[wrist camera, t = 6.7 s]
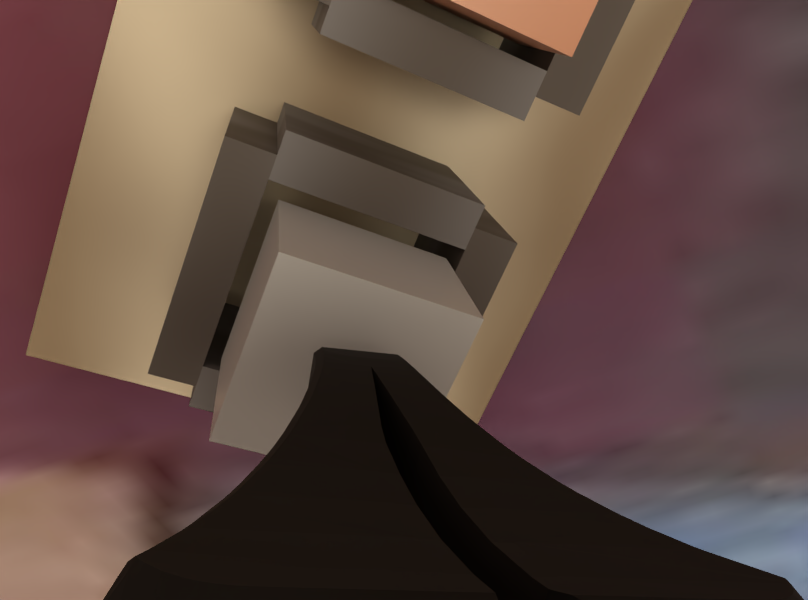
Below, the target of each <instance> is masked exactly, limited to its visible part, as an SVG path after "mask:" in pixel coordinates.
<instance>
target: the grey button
mask: <svg viewBox="0 0 808 600" xmlns="http://www.w3.org/2000/svg"><path fill="white" fill-rule="evenodd" d="M483 320H484V318H483V317H482V315H481V314H480V312H479V310H478V309H477V307H476V306H475V304H474V302H473V301H472V299H471V297H470V296H469V294H468V293H467V291H466V289H465V288H464V286H463V284H462V283H461V281H460V280H459V278H458V276H457V275H456V273H455V272H454V270H453V268H452V267H451V265H450V263H449V262H448V260H447V259H446V258H444V257H441V256H438V255H435V254H433V253H430V252H427V251H424V250H421V249H418V248H415V247H413V246H410V245H407V244H404V243H401V242H398V241H395V240H393V239H390V238H387V237H384V236H381V235H378V234H376V233H373V232H370V231H367V230H364V229H361V228H358V227H356V226H353V225H350V224H347V223H344V222H341V221H338V220H336V219H333V218H330V217H327V216H324V215H321V214H318V213H316V212H313V211H310V210H307V209H304V208H301V207H299V206H296V205H293V204H290V203H287V202H284V201H281V200H278V202H277V205H276V208H275V211H274V213H273V216H272V219H271V222H270V225H269V227H268V230H267V233H266V236H265V238H264V241H263V244H262V247H261V250H260V252H259V255H258V258H257V261H256V264H255V266H254V269H253V272H252V275H251V277H250V280H249V283H248V286H247V289H246V291H245V294H244V297H243V300H242V302H241V305H240V308H239V311H238V314H237V316H236V319H235V322H234V325H233V328H232V330H231V333H230V336H229V339H228V341H227V344H226V347H225V350H224V353H223V355H222V358H221V365H220V371H219V378H218V385H217V391H216V398H215V405H214V412H213V418H212V425H211V432H210V438H209V441H212V442H216V443H220V444H224V445H228V446H233V447H237V448H241V449H245V450H249V451H253V452H257V453H261V454H265V455H267V454H268V453H269V451H270V450H271V449H272V448H273V446H274V445H275V444H276V442H277V441H278V440H279V438H280V437H281V435H282V434H283V433H284V431H285V429H286V428H287V426H288V425H289V423H290V421H291V420H292V418H293V416H294V415H295V413H296V411H297V410H298V408H299V406H300V404H301V402H302V400H303V398H304V396H305V393H306V391H307V389H308V385H309V379H310V373H311V366H312V360H313V354H314V352H316V351H317V350H318V349H320V348H321V347H328V348H338V349H348V350H358V351H368V352H378V353H388V354H397V355H399V356H401V357H402V358H403V359H404V360H406V361H407V362H408V363H409V364H410V365H411V366H413V367H414V368H415V369H416V370H417V371H418V372H419V373H420V374H421V375H422V376H423V377H424V378H426V379H427V380H428V381H429V382H430V383H431V384H432V385H433V386H434V387H435V388H436V389H437V390H438V391H440V392H441V393H442V394H443V395H444V396H445V397H447V395H448V393H449V391H450V389H451V386H452V384H453V382H454V380H455V378H456V376H457V374H458V372H459V370H460V368H461V366H462V364H463V362H464V360H465V358H466V356H467V353H468V351H469V349H470V347H471V345H472V343H473V341H474V339H475V337H476V335H477V333H478V331H479V329H480V327H481V325H482V322H483Z"/></svg>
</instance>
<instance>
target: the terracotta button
mask: <svg viewBox="0 0 808 600" xmlns="http://www.w3.org/2000/svg"><path fill="white" fill-rule="evenodd" d="M424 1H426V2H428V3H430V4H432V5H435V6H437V7H439V8H441V9H443V10H445V11H448V12H450V13H452V14H454V15H456V16H458V17H461V18H463V19H465V20H467V21H469V22H471V23H474V24H476V25H478V26H480V27H482V28H484V29H487V30H489V31H491V32H493V33H495V34H497V35H500V36H502V37H504V38H506V39H508V40H510V41H513V42H515V43H517V44H520V45H524V46H528V47H532V48H536V49H541V50H545V51H549V52H553V53H557V54H561V55H565V56H569V57H572V56H573V54H574V52H575V49H576V47H577V45H578V43H579V41H580V39H581V37H582V34H583V32H584V30H585V28H586V26H587V24H588V22H589V19H590V17H591V15H592V13H593V11H594V9H595V7H596V4H597V2H598V0H424Z"/></svg>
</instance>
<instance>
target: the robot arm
mask: <svg viewBox="0 0 808 600" xmlns="http://www.w3.org/2000/svg"><path fill="white" fill-rule="evenodd" d="M103 600H804V599H803V598H802V597H801V596H800V595H799V593H798V592H797V591H796V590H795V589H794V587H793V586H792V585H791V584H790V583H789V582H788V580H786V579H785V578H783V577H780V576H777V575H774V574H771V573H768V572H765V571H762V570H759V569H756V568H753V567H750V566H747V565H744V564H742V563H739V562H736V561H733V560H730V559H727V558H724V557H721V556H718V555H715V554H712V553H709V552H706V551H703V550H701V549H698V548H696V547H693V546H690V545H688V544H686V543H683V542H681V541H678V540H676V539H674V538H671V537H669V536H666V535H664V534H662V533H659V532H657V531H654V530H652V529H650V528H647V527H645V526H643V525H641V524H639V523H637V522H634V521H632V520H630V519H628V518H626V517H624V516H621V515H619V514H617V513H615V512H613V511H611V510H610V509H608V508H606V507H604V506H602V505H600V504H598V503H596V502H594V501H592V500H590V499H589V498H587V497H585V496H583V495H581V494H579V493H577V492H575V491H574V490H572V489H570V488H568V487H567V486H565V485H563V484H561V483H560V482H558V481H556V480H555V479H553V478H552V477H550V476H549V475H547V474H545V473H544V472H542V471H541V470H539V469H538V468H536V467H535V466H533V465H531V464H530V463H528V462H527V461H525V460H524V459H522V458H521V457H519V456H518V455H517V454H515V453H514V452H512V451H511V450H510V449H508V448H507V447H505V446H504V445H503V444H502V443H500V442H499V441H498V440H496V439H495V438H494V437H493V436H491V435H490V434H489V433H487V432H486V431H485V430H484V429H482V428H481V427H480V426H479V425H477V424H476V423H475V422H474V421H473V420H471V419H470V418H469V417H468V416H467V415H465V414H464V413H463V412H462V411H461V410H460V409H458V408H457V407H456V406H455V405H454V404H453V403H452V402H451V401H449V400H448V399H447V398H446V397H445V396H444V395H443V394H442V393H441V392H440V391H438V390H437V389H436V388H435V387H434V386H433V385H432V384H431V383H430V382H429V381H428V380H427V379H426V378H424V377H423V376H422V375H421V374H420V373H419V372H418V371H417V370H416V369H415V368H414V367H413V366H411V365H410V364H409V363H408V362H407V361H406V360H404V359H403V358H402V357H401V356H399V355H397V354H388V353H378V352H368V351H358V350H348V349H338V348H328V347H321V348H320V349H318V350H317V351H316V352H314V354H313V360H312V366H311V373H310V379H309V385H308V389H307V391H306V393H305V396H304V398H303V400H302V402H301V404H300V406H299V408H298V410H297V411H296V413H295V415H294V416H293V418H292V420H291V421H290V423H289V425H288V426H287V428H286V429H285V431H284V433H283V434H282V435H281V437H280V438H279V440H278V441H277V442H276V444H275V445H274V446H273V448H272V449H271V450H270V451H269V453H268V454H267V455H266V456H265V457H264V459H263V460H262V461H261V462H260V463H259V465H258V466H257V467H256V468H255V469H254V470H253V471H252V472H251V473H250V474H249V475H248V476H247V477H246V478H245V479H244V480H243V481H242V482H241V483H240V484H239V485H238V486H237V487H236V488H235V489H234V490H233V491H232V492H231V493H230V494H229V495H227V496H226V497H225V498H224V499H223V500H221V501H220V502H219V503H218V504H216V505H215V506H214V507H212V508H211V509H210V510H209V511H207V512H206V513H205V514H203V515H202V516H201V517H200V518H198V519H197V520H196V521H195V522H193V523H192V524H191V525H189V526H188V527H186V528H185V529H183V530H182V531H180V532H179V533H177V534H175V535H173V536H172V537H170V538H168V539H166V540H165V541H163V542H161V543H159V544H158V545H156V546H154V547H152V548H151V549H149V550H147V551H145V552H143V553H141V554H139V555H137V556H135V557H134V558H132V559H131V560H129V561H128V562H127V564H126V565H125V567H124V568H123V570H122V571H121V573H120V574H119V576H118V577H117V579H116V581H115V582H114V584H113V585H112V587H111V588H110V590H109V592H108V593H107V595H106V596H105V598H104V599H103Z"/></svg>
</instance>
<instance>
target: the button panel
mask: <svg viewBox="0 0 808 600" xmlns="http://www.w3.org/2000/svg"><path fill="white" fill-rule="evenodd" d="M691 2H692V0H598V2H597V4H596V7H595V9H594V11H593V13H592V15H591V17H590V19H589V22H588V24H587V26H586V28H585V30H584V32H583V34H582V37H581V39H580V41H579V43H578V45H577V47H576V49H575V52H574V54H573V56H572V57H569V56H565V55H561V54H557V53H553V52H549V51H545V50H541V49H536V48H532V47H528V46H524V45H520V44H517V43H515V42H513V41H510V40H508V39H506V38H504V37H502V36H500V35H497V34H495V33H493V32H491V31H489V30H487V29H484V28H482V27H480V26H478V25H476V24H474V23H471V22H469V21H467V20H465V19H463V18H461V17H458V16H456V15H454V14H452V13H450V12H448V11H445V10H443V9H441V8H439V7H437V6H435V5H432V4H430V3H428V2H426V1H424V0H117V4H116V8H115V12H114V16H113V20H112V24H111V27H110V31H109V35H108V39H107V43H106V47H105V51H104V55H103V58H102V62H101V66H100V70H99V74H98V78H97V82H96V85H95V89H94V93H93V97H92V101H91V105H90V109H89V112H88V116H87V120H86V124H85V128H84V132H83V136H82V139H81V143H80V147H79V151H78V155H77V159H76V163H75V167H74V170H73V174H72V178H71V182H70V186H69V190H68V194H67V197H66V201H65V205H64V209H63V213H62V217H61V221H60V224H59V228H58V232H57V236H56V240H55V244H54V248H53V251H52V255H51V259H50V263H49V267H48V271H47V275H46V279H45V282H44V286H43V290H42V294H41V298H40V302H39V306H38V309H37V313H36V317H35V321H34V325H33V329H32V333H31V336H30V340H29V344H28V348H27V352H26V355H28V356H32V357H36V358H40V359H44V360H48V361H51V362H55V363H59V364H63V365H67V366H71V367H75V368H78V369H82V370H86V371H90V372H94V373H98V374H102V375H106V376H109V377H113V378H117V379H121V380H125V381H129V382H133V383H136V384H140V385H144V386H148V387H152V388H156V389H160V390H164V391H167V392H171V393H175V394H179V395H183V396H187V397H191V399H190V403H189V406H190V407H194V408H198V409H202V410H206V411H210V412H214V405H215V398H216V391H217V385H218V378H219V371H220V365H221V358H222V355H223V353H224V350H225V347H226V344H227V341H228V339H229V336H230V333H231V330H232V328H233V325H234V322H235V319H236V316H237V314H238V311H239V308H240V305H241V302H242V300H243V297H244V294H245V291H246V289H247V286H248V283H249V280H250V277H251V275H252V272H253V269H254V266H255V264H256V261H257V258H258V255H259V252H260V250H261V247H262V244H263V241H264V238H265V236H266V233H267V230H268V227H269V225H270V222H271V219H272V216H273V213H274V211H275V208H276V205H277V202H278V200H281V201H284V202H287V203H290V204H293V205H296V206H299V207H301V208H304V209H307V210H310V211H313V212H316V213H318V214H321V215H324V216H327V217H330V218H333V219H336V220H338V221H341V222H344V223H347V224H350V225H353V226H356V227H358V228H361V229H364V230H367V231H370V232H373V233H376V234H378V235H381V236H384V237H387V238H390V239H393V240H395V241H398V242H401V243H404V244H407V245H410V246H413V247H415V248H418V249H421V250H424V251H427V252H430V253H433V254H435V255H438V256H441V257H444V258H446V259H447V260H448V262H449V263H450V265H451V267H452V268H453V270H454V272H455V273H456V275H457V276H458V278H459V280H460V281H461V283H462V284H463V286H464V288H465V289H466V291H467V293H468V294H469V296H470V297H471V299H472V301H473V302H474V304H475V306H476V307H477V309H478V310H479V312H480V314H481V315H482V317H483V318H484V320H483V322H482V325H481V327H480V329H479V331H478V333H477V335H476V337H475V339H474V341H473V343H472V345H471V347H470V349H469V351H468V353H467V356H466V358H465V360H464V362H463V364H462V366H461V368H460V370H459V372H458V374H457V376H456V378H455V380H454V382H453V384H452V386H451V389H450V391H449V393H448V395H447V397H446V398H447V399H448V400H449V401H451V402H452V403H453V404H454V405H455V406H456V407H457V408H458V409H460V410H461V411H462V412H463V413H464V414H465V415H467V416H468V417H469V418H470V419H471V420H473V421H474V422H475V423H476V424H478V422H479V420H480V418H481V416H482V414H483V412H484V410H485V408H486V406H487V404H488V402H489V400H490V398H491V396H492V394H493V392H494V390H495V388H496V386H497V384H498V382H499V380H500V378H501V376H502V374H503V373H504V371H505V369H506V367H507V365H508V363H509V361H510V359H511V357H512V355H513V353H514V351H515V349H516V347H517V345H518V343H519V341H520V339H521V337H522V335H523V333H524V331H525V329H526V327H527V325H528V323H529V321H530V319H531V317H532V315H533V313H534V311H535V309H536V307H537V306H538V304H539V302H540V300H541V298H542V296H543V294H544V292H545V290H546V288H547V286H548V284H549V282H550V280H551V278H552V276H553V274H554V272H555V270H556V268H557V266H558V264H559V262H560V260H561V258H562V256H563V254H564V252H565V250H566V248H567V246H568V244H569V242H570V240H571V239H572V237H573V235H574V233H575V231H576V229H577V227H578V225H579V223H580V221H581V219H582V217H583V215H584V213H585V211H586V209H587V207H588V205H589V203H590V201H591V199H592V197H593V195H594V193H595V191H596V189H597V187H598V185H599V183H600V181H601V179H602V177H603V175H604V173H605V172H606V170H607V168H608V166H609V164H610V162H611V160H612V158H613V156H614V154H615V152H616V150H617V148H618V146H619V144H620V142H621V140H622V138H623V136H624V134H625V132H626V130H627V128H628V126H629V124H630V122H631V120H632V118H633V116H634V114H635V112H636V110H637V108H638V106H639V105H640V103H641V101H642V99H643V97H644V95H645V93H646V91H647V89H648V87H649V85H650V83H651V81H652V79H653V77H654V75H655V73H656V71H657V69H658V67H659V65H660V63H661V61H662V59H663V57H664V55H665V53H666V51H667V49H668V47H669V45H670V43H671V41H672V39H673V38H674V36H675V34H676V32H677V30H678V28H679V26H680V24H681V22H682V20H683V18H684V16H685V14H686V12H687V10H688V8H689V6H690V4H691Z"/></svg>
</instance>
